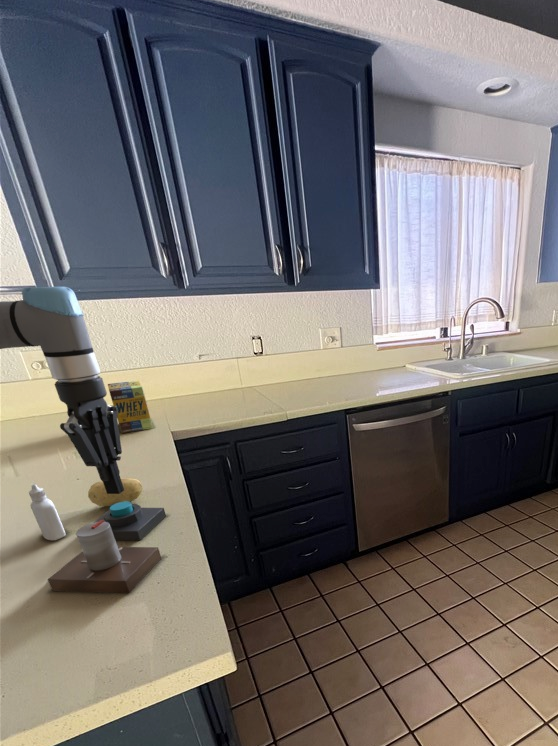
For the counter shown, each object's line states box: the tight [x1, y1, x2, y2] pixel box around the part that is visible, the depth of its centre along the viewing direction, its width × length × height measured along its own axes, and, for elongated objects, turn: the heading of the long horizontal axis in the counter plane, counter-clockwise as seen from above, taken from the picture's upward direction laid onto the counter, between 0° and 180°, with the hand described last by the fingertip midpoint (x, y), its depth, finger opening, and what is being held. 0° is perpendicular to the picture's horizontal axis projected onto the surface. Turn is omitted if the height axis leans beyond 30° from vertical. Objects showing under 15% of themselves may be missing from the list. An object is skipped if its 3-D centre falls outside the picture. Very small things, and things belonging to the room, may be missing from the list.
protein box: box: [107, 380, 154, 434], centre depth 159 cm, size 10×15×16 cm
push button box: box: [92, 503, 167, 541], centre depth 92 cm, size 12×10×4 cm
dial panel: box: [47, 546, 162, 594], centre depth 77 cm, size 14×10×3 cm
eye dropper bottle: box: [28, 483, 66, 541], centre depth 88 cm, size 4×6×12 cm
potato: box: [87, 477, 143, 508], centre depth 102 cm, size 7×11×6 cm, turn 111°
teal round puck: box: [109, 501, 133, 517], centre depth 90 cm, size 4×4×2 cm
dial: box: [75, 520, 121, 571], centre depth 75 cm, size 5×5×7 cm
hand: (115, 491), depth 89 cm, fingers closed
